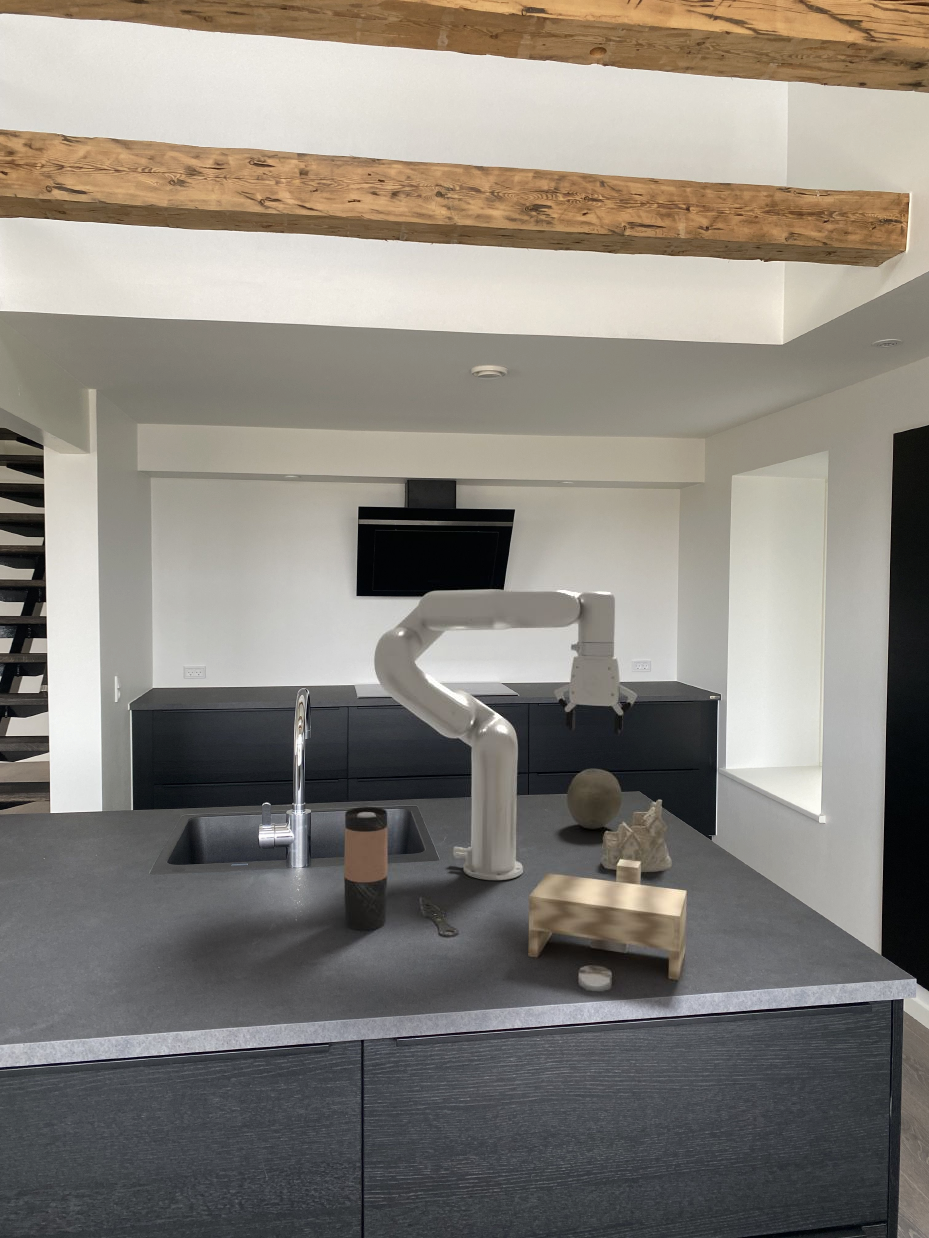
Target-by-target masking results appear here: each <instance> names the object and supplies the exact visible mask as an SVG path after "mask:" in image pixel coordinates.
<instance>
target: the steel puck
mask: <svg viewBox="0 0 929 1238" xmlns="http://www.w3.org/2000/svg"><path fill="white" fill-rule="evenodd" d="M577 977H578V980H577V982H578V983H579V984H578V986H579V985H580V986H581V987H583V988H584V989H583V988H582V989H583V990H585V989H588V990H590V991H589V992H593V991H598V992H599V991H602V992H606V991H605V990H607V991H608V989H609V988H610V987H611V988H612V980H613V979H612V977H613V975H612V972H611V970H610V969H609V968H607V967H605V966H600V965H594V964H592V965H591V964H590V965H585V966H581V967H580V968H579V969H578V976H577ZM580 986H579V987H580ZM581 987H580V988H581ZM611 988H610V989H611ZM610 989H609V990H610ZM588 990H587V991H588ZM598 992H597V993H598ZM599 993H600V992H599Z"/></svg>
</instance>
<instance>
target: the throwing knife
mask: <svg viewBox="0 0 929 1238" xmlns="http://www.w3.org/2000/svg"><path fill="white" fill-rule="evenodd" d="M426 904H427V905H426ZM419 907H420V911H421V914H422V916H423V918H426V917H427V918H426V919H430V920H431V921H433V920H434V921H433V922H434V923H436V924H437V925H436V924H435V925H436V926H437V928H438V935H439V934H440V935H439V936H441V935H443V936H453V937H455V936H454V935H457V936H459V933H460V931H459V929H457V928H456V927H454V926H452V925H451V924H450V923H448V922H447V921H446V919H445V916H446V915H445V913H446V912H445V911H443V910H442V909H441V910H440V908H439V907H438V906H437V905H435V904H433V903H432V902H430V901H429V900H427V899H425V898H424V897H422V896H419ZM434 914H436V915H434ZM443 915H445V916H444V917H443ZM445 931H446V932H451V931H453V932H452V933H446V932H445ZM443 936H442V937H443Z"/></svg>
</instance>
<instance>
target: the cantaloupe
mask: <svg viewBox="0 0 929 1238" xmlns="http://www.w3.org/2000/svg"><path fill="white" fill-rule="evenodd" d="M570 782H571V783H570V785H569V786H568V788H567V789H568V790H567V793H566V794H567V795H566V803H567V807H568V810H569V811H568V812H570V815H571V818H572V819H573V821H575V822H576V823H577V824H578V825H580V826H581V827H583V828H585V829H590V830H596V829H597V830H598V829H600V828H603V827H605V826H606V825H608V824H610V822H612V821H613V820H614V819H615V818H616V817H617V815H618V813H619V812H620V810H621V809H620V808H621V806H622V799H623V798H622V797H623V796H622V795H623V794H622V789H621V786H620V784H619V781H618V779H617V778H616V777H615V775H613V773H611V772H610V771H608V770H603V769H599V768H587V769H584V770H582V771H580V772H579V773H577V774H576V775H575V776H574V777H573V778H572V781H570Z"/></svg>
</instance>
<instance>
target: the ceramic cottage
mask: <svg viewBox="0 0 929 1238" xmlns="http://www.w3.org/2000/svg"><path fill="white" fill-rule="evenodd" d="M662 804H663V800H662V799H657V800H656V802H655V801H653V802H651V803H650V808H649V810H648V811H633V813H632V817H631V820H630V824H629V825H627V823H626V822H625V821H622V822H621V824H619V825H618V828H617V830H616V831H608V830H606V831H605V832H604V834H603V837H602V841H603V842H602V844H601V850H602V851H601V852H602V854H603V856H602V857H601V858H600V863H601V864H602V866H604V867H603V868H605V869H607V870H611V869H612V870H615V871H617V864H618V862H619V860H620V859H623V860H631V861H640V862H641V873H647V872H648V873H652V872H663V871H667V870H668V869H670V868H671V867H672V866H673V862H672V858H671V857H670V856H669V855H670V854H669V850H668V846H667V844H666V842H665V837H666V836H665V835H666V832H667V829H668V827H667V825H666V823H665V821H663V820H662V814H663V807H662Z"/></svg>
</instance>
